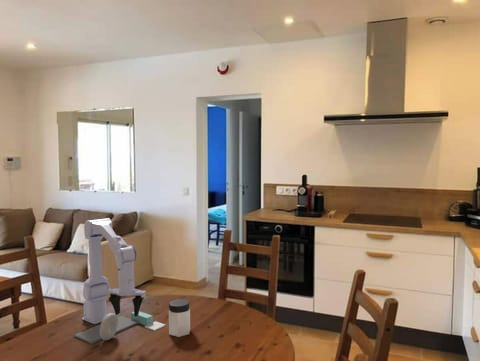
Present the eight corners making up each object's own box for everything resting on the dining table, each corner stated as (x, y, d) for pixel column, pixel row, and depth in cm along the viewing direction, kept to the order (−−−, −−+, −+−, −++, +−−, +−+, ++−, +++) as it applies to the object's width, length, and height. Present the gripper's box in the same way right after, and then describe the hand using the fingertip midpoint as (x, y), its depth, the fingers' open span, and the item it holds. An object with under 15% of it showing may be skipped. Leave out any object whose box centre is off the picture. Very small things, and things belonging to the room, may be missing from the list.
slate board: (74, 336, 153) (74, 334, 153) (121, 317, 171) (121, 315, 171) (91, 344, 146) (91, 342, 146) (138, 323, 164) (138, 321, 164)
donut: (105, 346, 145) (106, 320, 144) (97, 344, 146) (98, 318, 145) (119, 333, 155) (120, 309, 154) (111, 332, 155) (112, 307, 154)
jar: (170, 327, 160) (170, 298, 160) (191, 327, 161) (190, 298, 160) (167, 337, 152) (167, 307, 151) (189, 337, 152) (188, 306, 151)
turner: (128, 321, 166) (128, 313, 166) (139, 317, 171) (139, 309, 171) (154, 331, 157) (154, 322, 157) (165, 326, 162) (165, 317, 162)
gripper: (102, 281, 145) (103, 317, 145) (139, 283, 142) (140, 320, 143) (112, 275, 151) (113, 310, 152) (147, 277, 149) (148, 312, 149)
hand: (127, 314), depth 148 cm, fingers open, 7 cm apart
